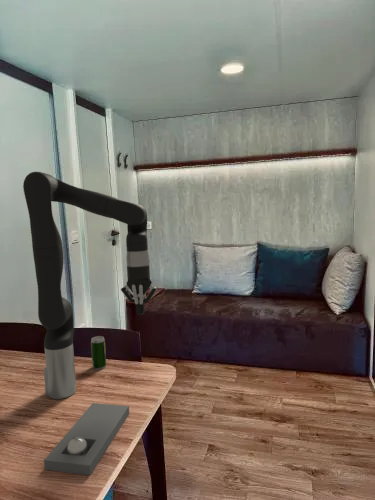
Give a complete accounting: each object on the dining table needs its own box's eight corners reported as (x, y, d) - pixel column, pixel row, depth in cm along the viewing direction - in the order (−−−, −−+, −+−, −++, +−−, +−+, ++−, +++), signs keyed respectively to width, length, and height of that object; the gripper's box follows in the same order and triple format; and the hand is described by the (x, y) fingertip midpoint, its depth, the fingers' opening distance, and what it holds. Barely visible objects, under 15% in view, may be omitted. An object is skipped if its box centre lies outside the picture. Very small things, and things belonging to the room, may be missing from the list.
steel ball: (68, 433, 91) (74, 439, 95) (61, 454, 88) (68, 460, 91) (86, 435, 90) (92, 441, 94) (79, 457, 87) (86, 463, 90)
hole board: (44, 469, 87) (44, 460, 87) (93, 410, 112) (92, 403, 112) (90, 475, 85) (89, 465, 84) (129, 413, 110) (128, 405, 110)
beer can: (95, 371, 140) (93, 341, 139) (90, 366, 145) (88, 337, 143) (108, 367, 143) (106, 338, 142) (103, 362, 148) (101, 335, 146)
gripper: (115, 265, 117) (118, 317, 119) (153, 265, 114) (156, 318, 116) (123, 262, 124) (126, 310, 126) (160, 262, 122) (162, 311, 123)
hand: (140, 314), depth 121 cm, fingers closed
